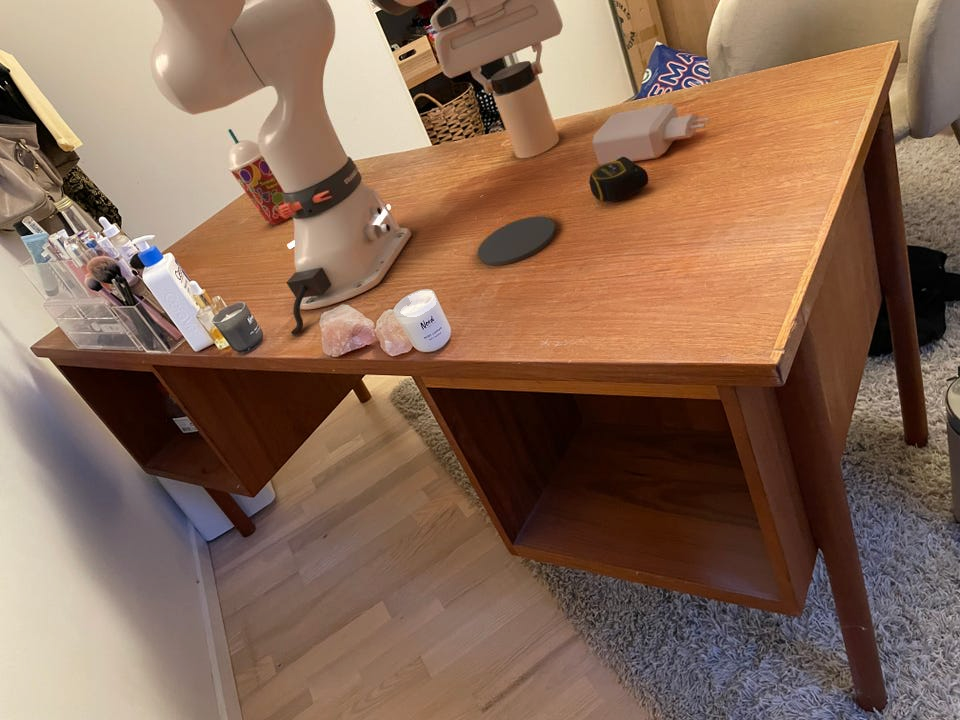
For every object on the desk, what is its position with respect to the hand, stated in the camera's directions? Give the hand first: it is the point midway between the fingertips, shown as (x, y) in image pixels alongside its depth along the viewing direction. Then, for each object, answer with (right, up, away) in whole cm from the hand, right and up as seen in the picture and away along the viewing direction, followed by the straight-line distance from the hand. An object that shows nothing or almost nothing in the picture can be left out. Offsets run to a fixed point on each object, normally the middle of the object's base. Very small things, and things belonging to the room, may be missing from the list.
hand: (514, 83), depth 112 cm
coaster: (-1, -30, -20) cm, 36 cm away
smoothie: (-47, -16, +33) cm, 59 cm away
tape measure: (+14, -23, -20) cm, 34 cm away
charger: (+20, -15, -14) cm, 29 cm away
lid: (-1, +1, -1) cm, 2 cm away
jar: (+4, -9, +6) cm, 11 cm away
